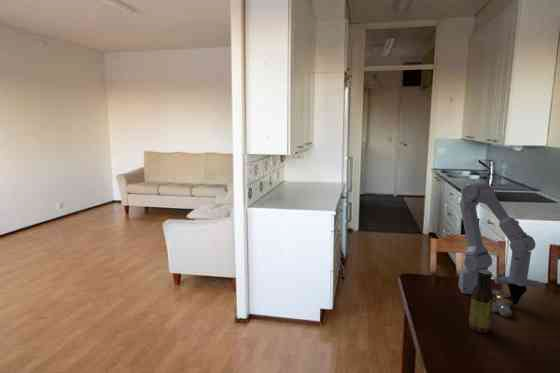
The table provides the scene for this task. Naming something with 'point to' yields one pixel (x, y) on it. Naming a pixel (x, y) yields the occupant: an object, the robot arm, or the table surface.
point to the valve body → (500, 305)
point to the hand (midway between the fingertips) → (514, 303)
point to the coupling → (505, 298)
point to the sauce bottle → (481, 303)
